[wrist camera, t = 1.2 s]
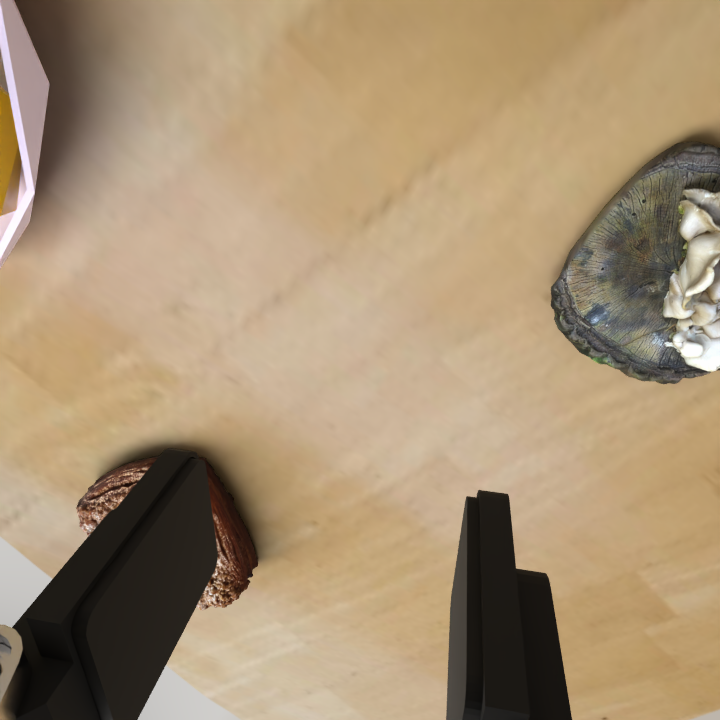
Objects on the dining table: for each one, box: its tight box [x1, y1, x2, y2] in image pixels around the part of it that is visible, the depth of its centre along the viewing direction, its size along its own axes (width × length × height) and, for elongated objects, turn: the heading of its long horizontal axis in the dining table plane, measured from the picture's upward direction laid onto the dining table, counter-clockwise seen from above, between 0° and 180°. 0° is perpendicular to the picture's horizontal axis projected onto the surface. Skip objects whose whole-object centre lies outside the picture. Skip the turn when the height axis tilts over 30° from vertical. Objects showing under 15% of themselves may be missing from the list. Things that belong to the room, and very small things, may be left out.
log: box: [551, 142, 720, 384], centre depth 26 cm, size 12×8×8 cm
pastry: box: [76, 456, 258, 610], centre depth 37 cm, size 11×12×6 cm
